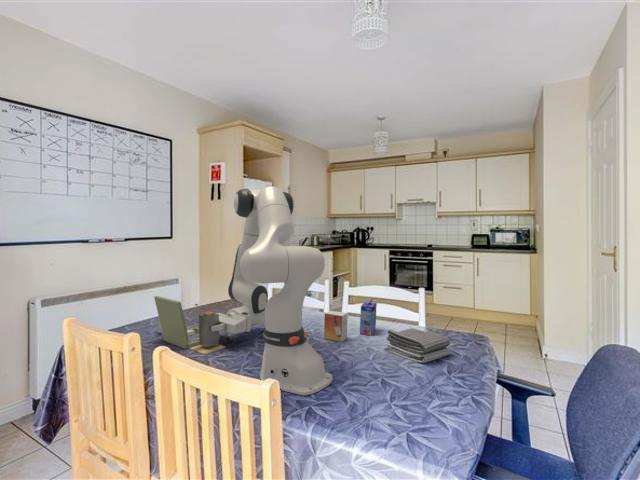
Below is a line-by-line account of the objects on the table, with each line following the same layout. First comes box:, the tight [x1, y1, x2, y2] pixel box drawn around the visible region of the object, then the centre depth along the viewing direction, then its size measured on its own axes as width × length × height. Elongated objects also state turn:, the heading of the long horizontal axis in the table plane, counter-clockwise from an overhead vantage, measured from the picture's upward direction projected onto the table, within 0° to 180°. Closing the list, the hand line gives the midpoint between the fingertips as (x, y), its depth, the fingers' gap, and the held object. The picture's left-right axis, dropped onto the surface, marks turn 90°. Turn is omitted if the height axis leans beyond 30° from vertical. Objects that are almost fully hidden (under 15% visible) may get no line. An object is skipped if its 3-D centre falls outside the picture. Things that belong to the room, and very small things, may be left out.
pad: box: [189, 343, 226, 356], centre depth 124 cm, size 9×9×1 cm
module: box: [198, 311, 220, 347], centre depth 124 cm, size 5×5×12 cm
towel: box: [384, 328, 451, 364], centre depth 121 cm, size 15×18×8 cm
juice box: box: [359, 298, 378, 337], centre depth 145 cm, size 10×6×14 cm, turn 161°
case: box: [153, 295, 221, 350], centre depth 133 cm, size 17×18×18 cm
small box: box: [323, 310, 349, 343], centre depth 136 cm, size 8×6×10 cm
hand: (205, 327), depth 123 cm, fingers closed on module, 5 cm apart
